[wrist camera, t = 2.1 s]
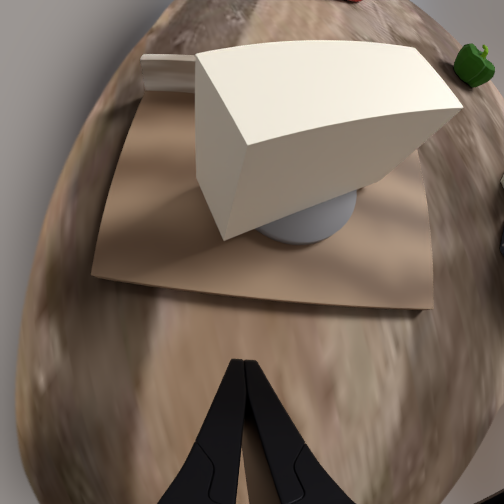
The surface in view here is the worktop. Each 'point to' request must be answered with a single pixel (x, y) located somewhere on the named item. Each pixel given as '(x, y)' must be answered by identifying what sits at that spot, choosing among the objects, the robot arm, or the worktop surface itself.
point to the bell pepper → (473, 65)
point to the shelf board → (253, 242)
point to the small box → (502, 244)
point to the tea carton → (307, 130)
